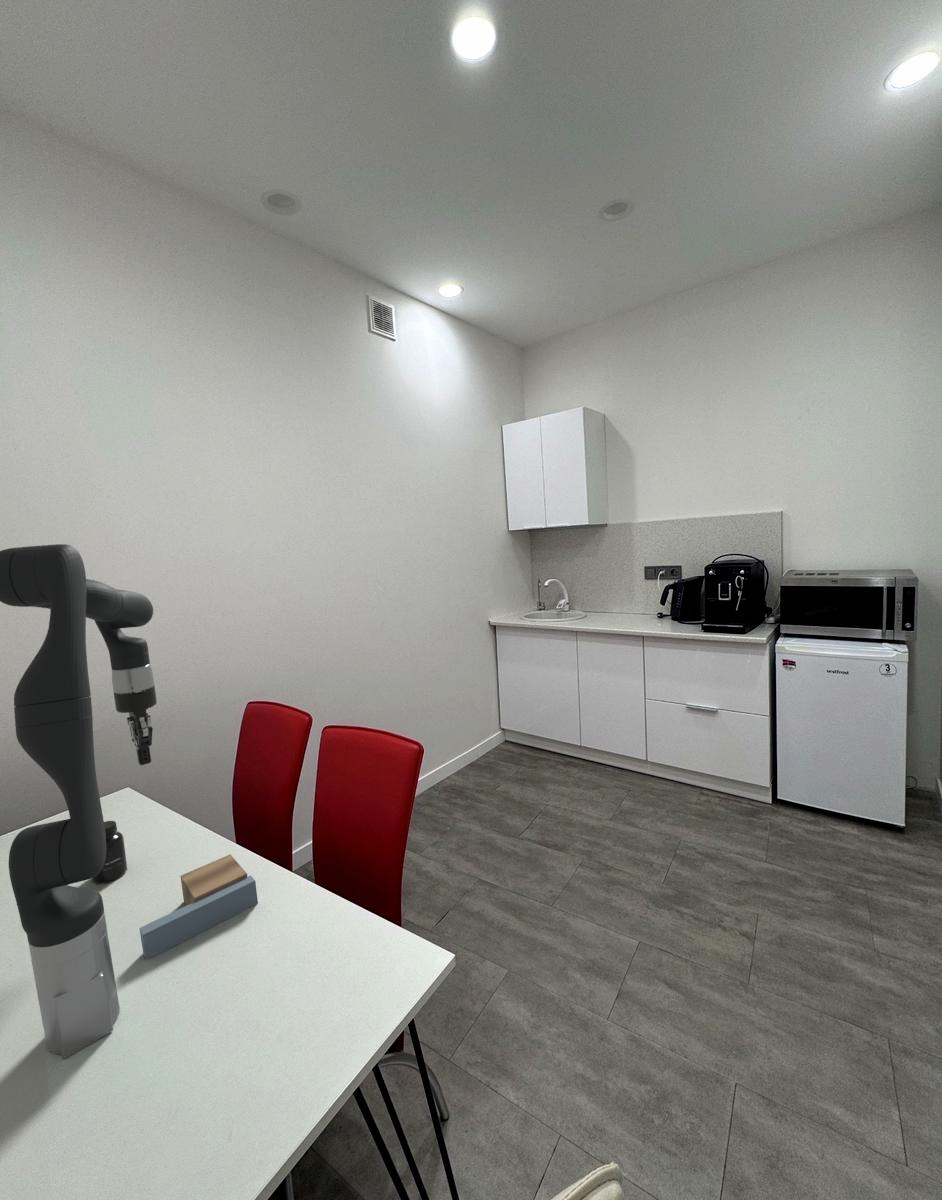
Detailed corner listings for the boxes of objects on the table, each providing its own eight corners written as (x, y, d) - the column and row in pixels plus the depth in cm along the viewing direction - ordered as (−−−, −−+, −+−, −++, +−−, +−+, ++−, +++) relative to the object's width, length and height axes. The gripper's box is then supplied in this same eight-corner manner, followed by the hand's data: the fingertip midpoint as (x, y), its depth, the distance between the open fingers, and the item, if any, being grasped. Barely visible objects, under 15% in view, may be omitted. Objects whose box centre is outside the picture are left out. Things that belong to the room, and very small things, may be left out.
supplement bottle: (114, 884, 117) (106, 833, 116) (84, 885, 117) (76, 835, 116) (134, 865, 124) (127, 817, 123) (106, 866, 124) (98, 818, 123)
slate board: (257, 903, 108) (255, 880, 107) (146, 960, 94) (142, 934, 94) (253, 897, 110) (250, 875, 109) (143, 953, 96) (139, 927, 96)
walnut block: (250, 900, 109) (247, 873, 108) (198, 926, 102) (194, 898, 102) (233, 879, 116) (230, 854, 116) (184, 902, 110) (180, 875, 109)
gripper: (108, 685, 116) (119, 761, 118) (119, 696, 106) (131, 778, 108) (147, 678, 121) (157, 750, 123) (161, 687, 111) (171, 765, 113)
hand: (144, 763), depth 116 cm, fingers closed
